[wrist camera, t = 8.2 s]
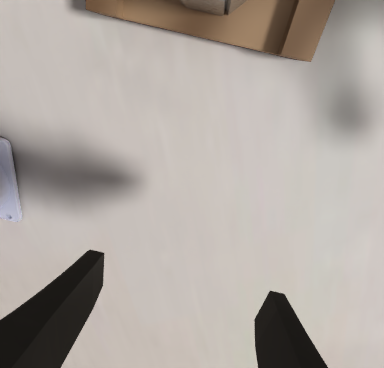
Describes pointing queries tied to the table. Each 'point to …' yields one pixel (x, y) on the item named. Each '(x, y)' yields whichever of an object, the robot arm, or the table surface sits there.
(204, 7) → the tube
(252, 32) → the shaft block
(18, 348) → the robot arm
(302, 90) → the table surface
